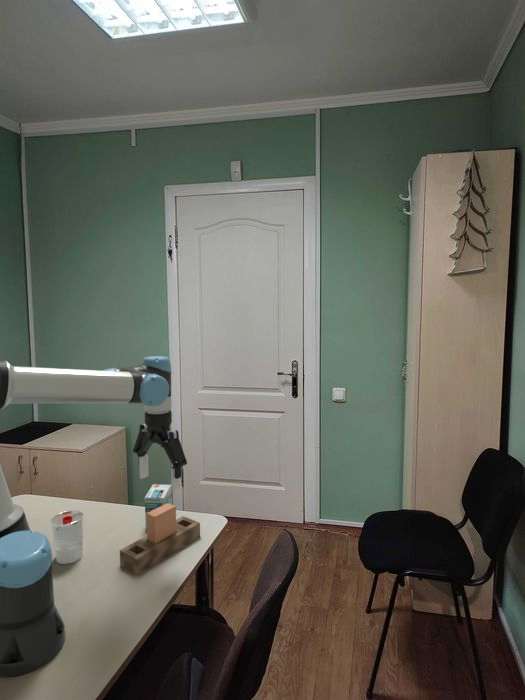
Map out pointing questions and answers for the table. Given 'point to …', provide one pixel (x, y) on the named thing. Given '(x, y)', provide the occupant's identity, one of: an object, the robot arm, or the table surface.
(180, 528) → the brown long block
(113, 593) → the table surface
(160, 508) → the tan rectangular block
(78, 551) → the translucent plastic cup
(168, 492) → the light bulb box
